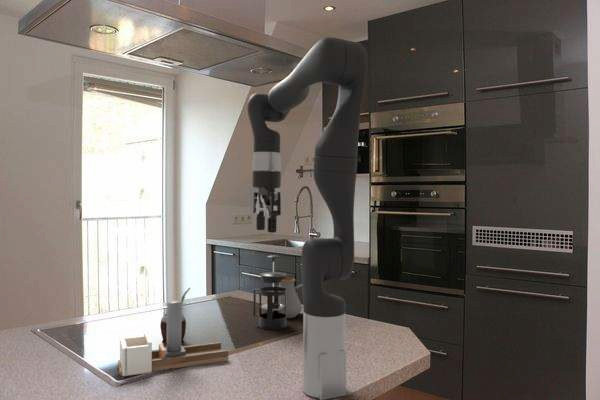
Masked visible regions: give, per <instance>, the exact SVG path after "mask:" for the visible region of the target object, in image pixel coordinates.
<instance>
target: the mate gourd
mask: <svg viewBox="0 0 600 400" xmlns="http://www.w3.org/2000/svg"><path fill="white" fill-rule="evenodd" d="M190 290H191V287H188V289H186V290H185V292H184V293H183V295H182V296H181V300H180V301H181V302H182V305H183V303H184V300H185V298H186V295H187V294H188V293H189V291H190ZM160 320H161V321H160V326H159V327H160V333H161V338H162V340H161V344H163V343H164V344H165V343H166V344H167V313H165V314H164V315H163V316H162V317H161V319H160ZM186 327H187V321H186V317H185V316H184V314H183V313H182V325H181V344H182V343H185V340H184V339H185V335H186Z"/></svg>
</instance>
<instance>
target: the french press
mask: <svg viewBox="0 0 600 400" xmlns="http://www.w3.org/2000/svg"><path fill="white" fill-rule="evenodd" d="M266 257H267V258H270V259H271V261H272V271H268V272H262V273H259V277H260V282H261V283H267V284H272V286H264V287H260V288H254V290H253V314H252V315H253V317H258V327H259V328H260V329H263V330H270V331H271V330H272V331H273V330H282V329H285V328H287V327H288V323H287V320H288V318H287V289H286V288H284V287H279V286H275V284H279V282H281V281H282V280H283V279H284V278H286V277H288V274H287V273H286V272H278V271H275V262H276V259H277V258H278V259H279V258H281V256H279V255H276V254H274V255H272V254H271V255H268V256H266ZM257 291H259V295H258V296H259V299H258V300H259V301H258V302H259V303H258V304H259V305H258V308H259V310H258V313H257V311H256V310H257V308H256V306H257V299H256V298H257ZM279 291H280V292H279ZM281 295H285V305H283V304H279V296H281ZM262 296H265V297H267V298H266V303H263V304H262ZM284 309H285V314H284V313H279V312H278V311H279V310H284ZM262 310H263V311H266V312H263V313H262Z"/></svg>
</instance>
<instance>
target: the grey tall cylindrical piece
mask: <svg viewBox="0 0 600 400" xmlns="http://www.w3.org/2000/svg"><path fill="white" fill-rule="evenodd" d="M182 307H183V304H182V302H181V300H170V301H167V302H166V314H167V343H166V347H165V346H164V344H163V343H158V349H159V357H160V358H168V357H175V356H183V355H186V351H185V349H184V348H183V345H182V343H181V325H182V314H183V313H182V310H183V309H182Z"/></svg>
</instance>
